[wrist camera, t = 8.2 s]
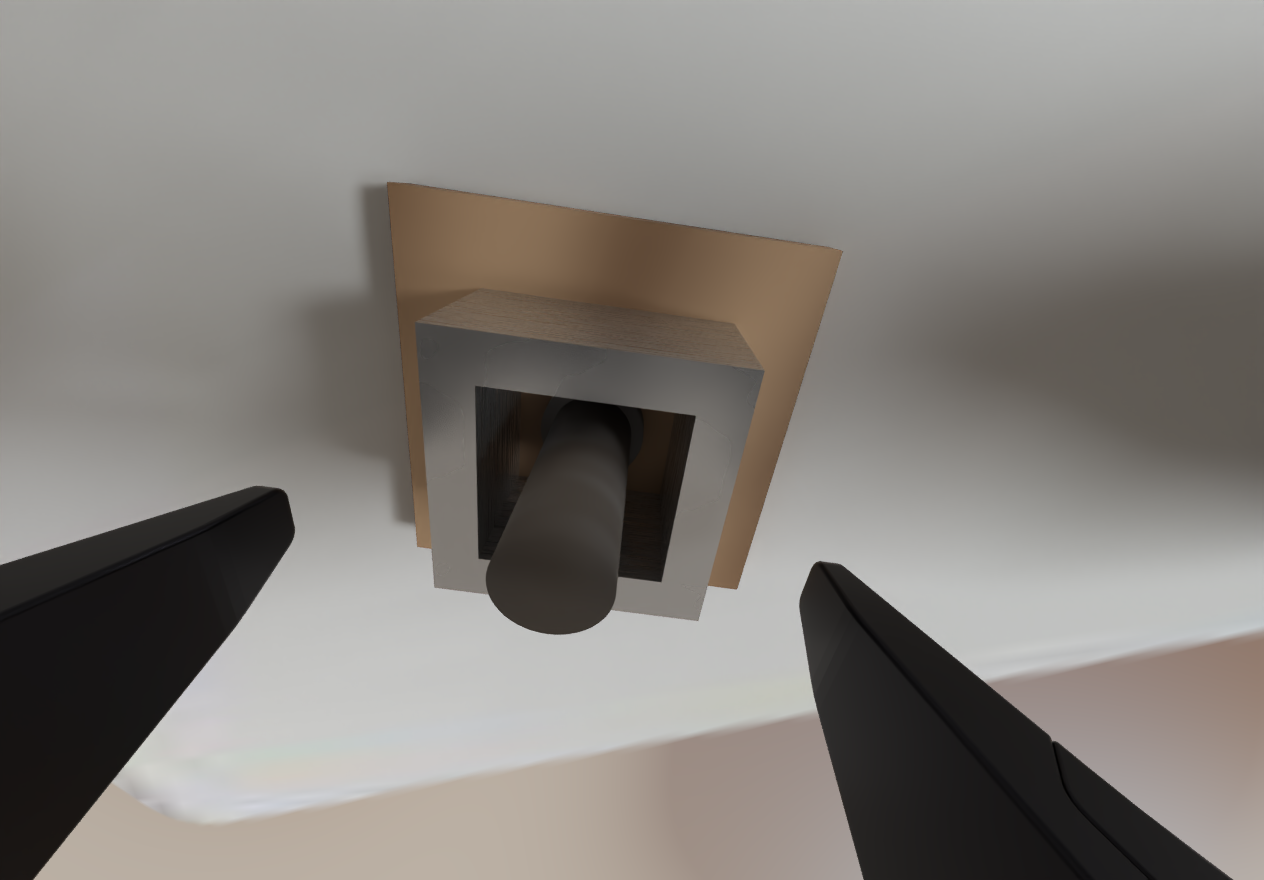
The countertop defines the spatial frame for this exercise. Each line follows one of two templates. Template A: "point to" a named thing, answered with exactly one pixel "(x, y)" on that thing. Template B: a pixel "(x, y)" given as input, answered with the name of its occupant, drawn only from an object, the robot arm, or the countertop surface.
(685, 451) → the grey square socket
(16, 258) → the countertop surface
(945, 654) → the robot arm
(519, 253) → the keeper
